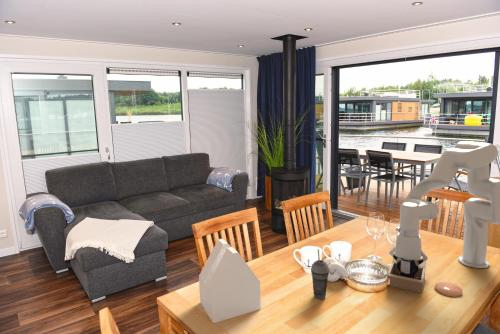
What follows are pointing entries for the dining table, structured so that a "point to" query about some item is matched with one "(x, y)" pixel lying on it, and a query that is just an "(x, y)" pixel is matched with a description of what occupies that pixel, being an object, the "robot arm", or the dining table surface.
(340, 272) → the white decorative knot
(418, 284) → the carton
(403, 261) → the beverage can
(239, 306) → the milk carton
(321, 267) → the beverage cup
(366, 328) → the dining table surface
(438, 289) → the coaster
